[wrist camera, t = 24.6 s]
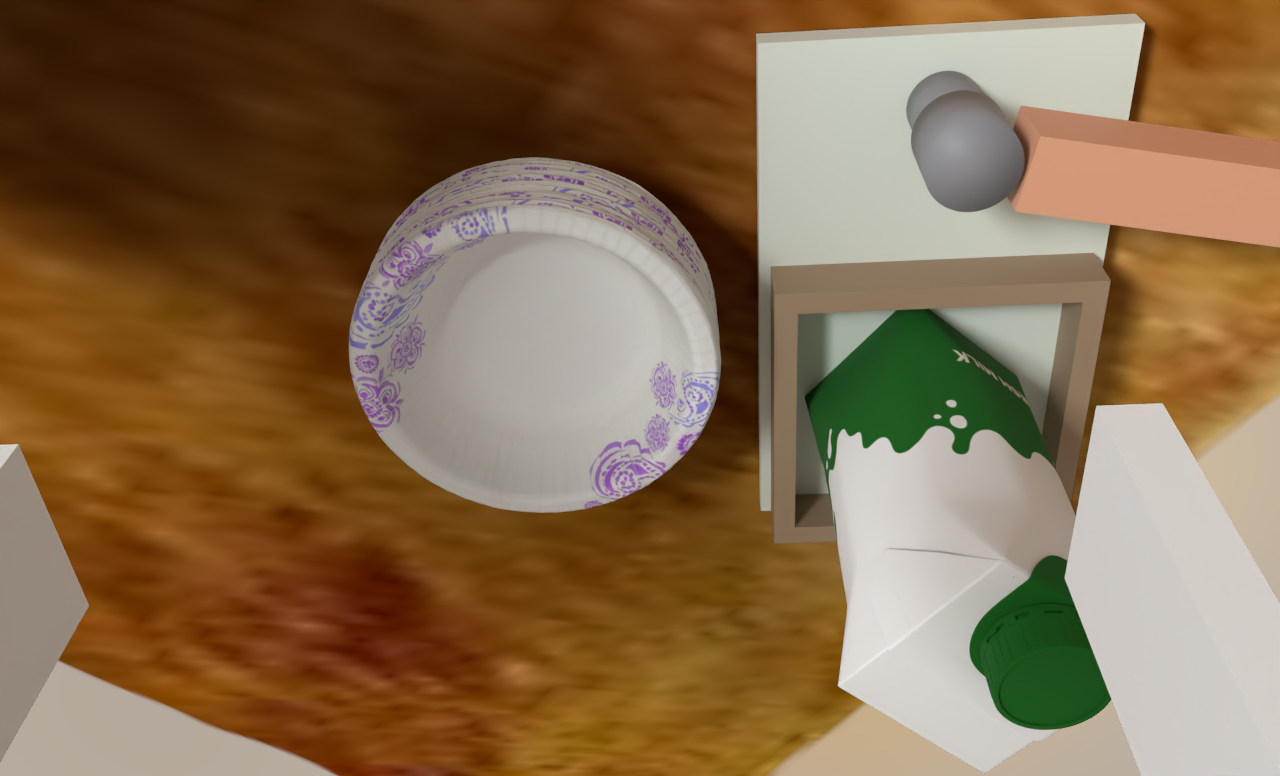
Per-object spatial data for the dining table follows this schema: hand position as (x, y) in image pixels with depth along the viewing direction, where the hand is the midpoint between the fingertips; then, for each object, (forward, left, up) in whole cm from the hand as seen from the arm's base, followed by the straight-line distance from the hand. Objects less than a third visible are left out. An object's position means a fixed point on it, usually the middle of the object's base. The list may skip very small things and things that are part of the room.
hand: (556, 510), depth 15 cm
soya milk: (+11, -23, -36) cm, 44 cm away
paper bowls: (-5, -17, -37) cm, 41 cm away
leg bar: (+19, -10, -33) cm, 39 cm away
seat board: (+12, -18, -37) cm, 43 cm away
